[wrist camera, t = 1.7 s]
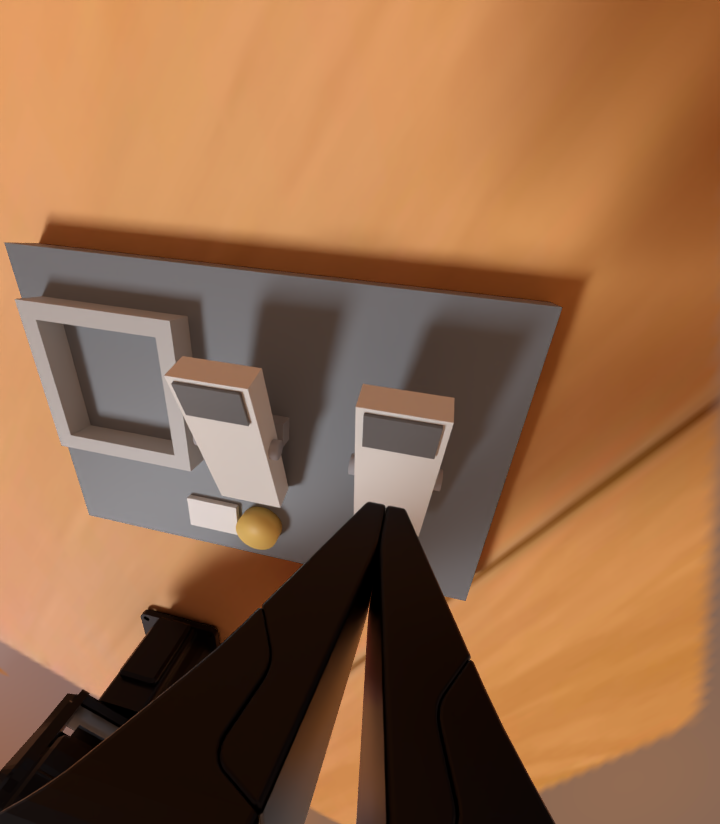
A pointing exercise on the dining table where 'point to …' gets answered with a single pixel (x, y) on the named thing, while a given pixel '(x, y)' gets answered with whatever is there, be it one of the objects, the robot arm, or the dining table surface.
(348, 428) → the panel
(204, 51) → the dining table surface
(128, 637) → the dining table surface
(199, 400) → the block
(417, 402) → the breaker
